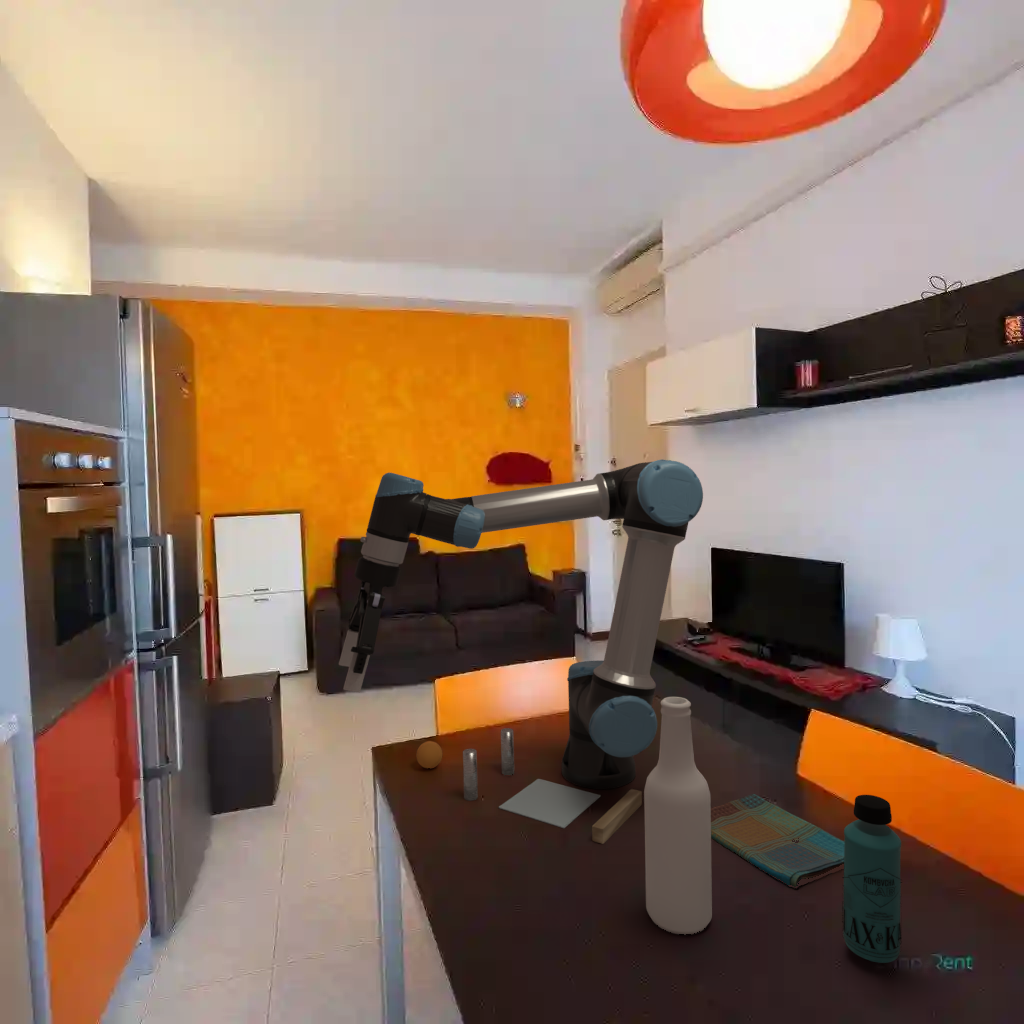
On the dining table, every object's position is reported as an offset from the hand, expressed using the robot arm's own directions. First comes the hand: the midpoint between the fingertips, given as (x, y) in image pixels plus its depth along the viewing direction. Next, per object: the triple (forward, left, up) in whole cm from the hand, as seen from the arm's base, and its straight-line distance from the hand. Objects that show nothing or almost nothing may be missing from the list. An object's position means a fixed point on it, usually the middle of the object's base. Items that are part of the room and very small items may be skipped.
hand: (348, 677), depth 116 cm
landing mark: (-25, -26, -27) cm, 45 cm away
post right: (-11, -33, -27) cm, 43 cm away
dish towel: (-63, -34, -28) cm, 77 cm away
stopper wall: (-39, -26, -27) cm, 54 cm away
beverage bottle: (-80, -12, -27) cm, 85 cm away
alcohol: (-57, -7, -27) cm, 63 cm away
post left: (-11, -20, -27) cm, 35 cm away
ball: (+5, -26, -24) cm, 36 cm away
